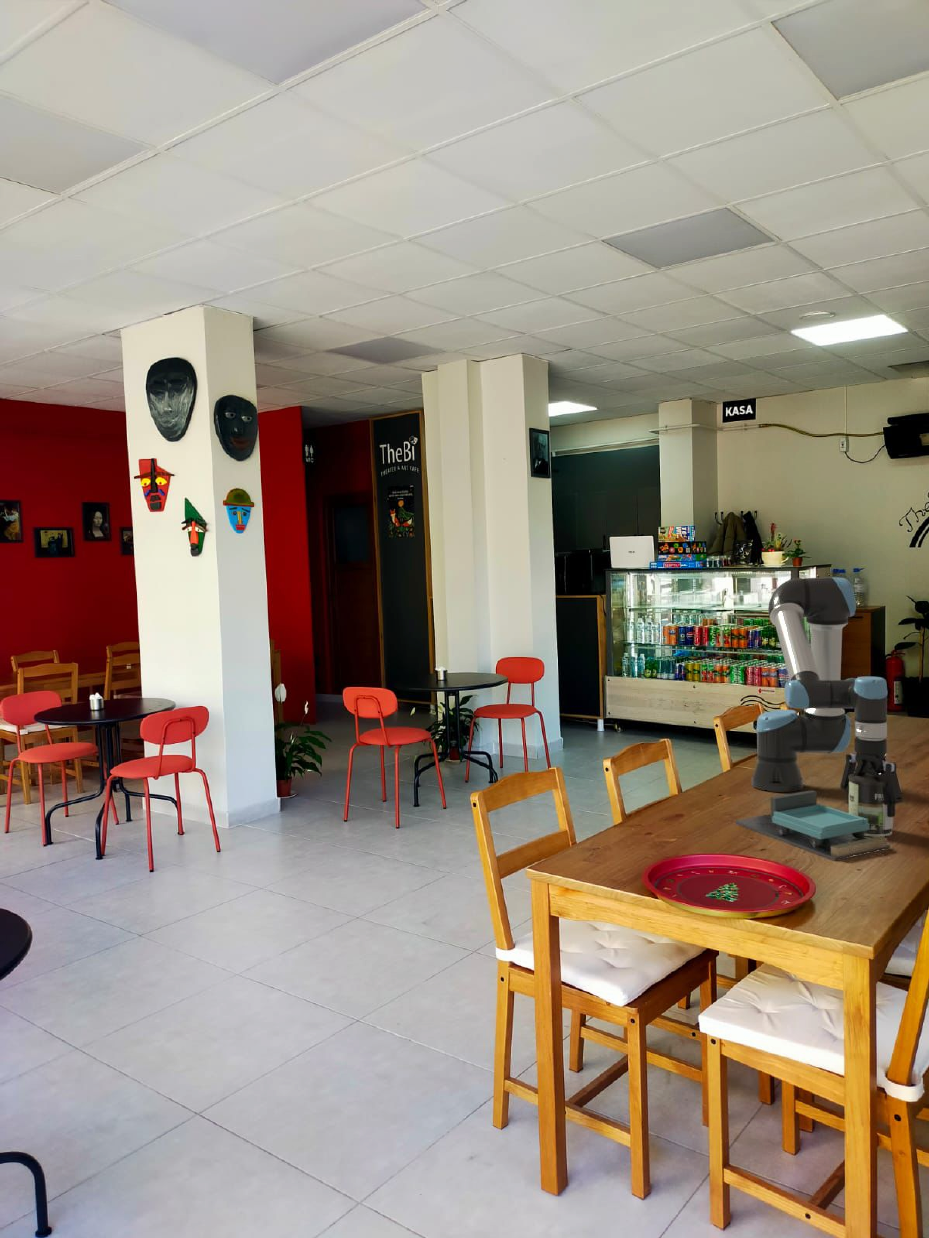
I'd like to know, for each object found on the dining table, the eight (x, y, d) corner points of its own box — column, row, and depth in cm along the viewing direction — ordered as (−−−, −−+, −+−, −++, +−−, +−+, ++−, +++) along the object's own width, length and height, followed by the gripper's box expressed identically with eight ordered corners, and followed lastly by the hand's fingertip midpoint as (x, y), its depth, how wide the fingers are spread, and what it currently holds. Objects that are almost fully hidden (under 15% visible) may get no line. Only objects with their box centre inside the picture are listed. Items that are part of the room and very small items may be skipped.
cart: (767, 830, 229) (767, 797, 228) (815, 821, 235) (814, 789, 234) (820, 849, 213) (820, 814, 212) (869, 839, 219) (869, 805, 218)
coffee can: (901, 832, 226) (901, 778, 225) (874, 839, 222) (874, 784, 221) (866, 822, 235) (866, 770, 235) (839, 829, 231) (839, 775, 230)
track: (735, 823, 239) (735, 813, 238) (786, 814, 246) (786, 804, 246) (834, 860, 207) (834, 849, 207) (890, 848, 215) (890, 837, 214)
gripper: (825, 731, 236) (825, 814, 237) (897, 747, 215) (897, 837, 217) (846, 728, 239) (846, 810, 240) (919, 743, 218) (919, 832, 220)
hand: (870, 823), depth 228 cm, fingers closed on coffee can, 10 cm apart
